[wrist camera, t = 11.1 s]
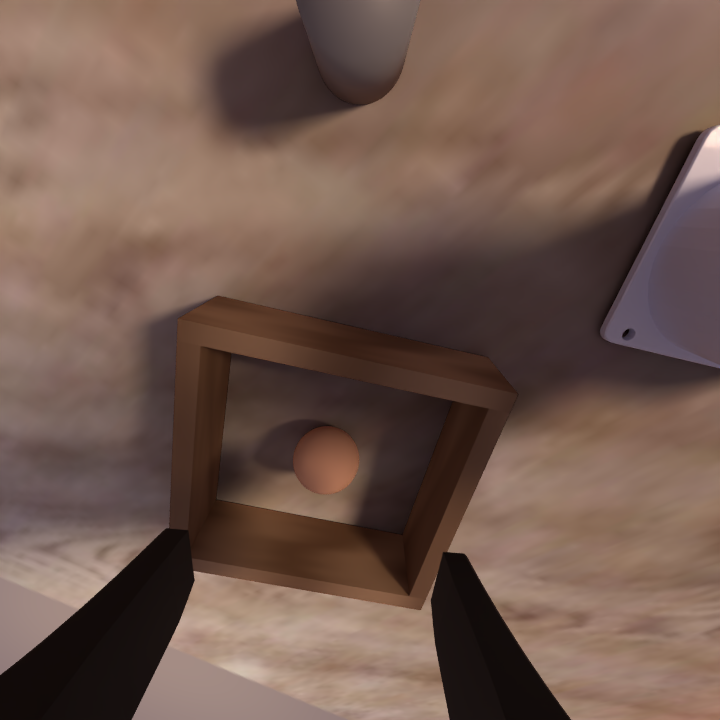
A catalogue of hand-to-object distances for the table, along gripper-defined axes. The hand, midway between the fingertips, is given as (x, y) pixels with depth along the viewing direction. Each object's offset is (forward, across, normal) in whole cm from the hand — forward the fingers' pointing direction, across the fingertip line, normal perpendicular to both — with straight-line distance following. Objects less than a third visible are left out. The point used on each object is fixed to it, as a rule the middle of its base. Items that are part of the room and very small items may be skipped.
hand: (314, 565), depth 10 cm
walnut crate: (+8, 0, +1) cm, 8 cm away
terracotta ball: (+8, 0, +1) cm, 8 cm away
